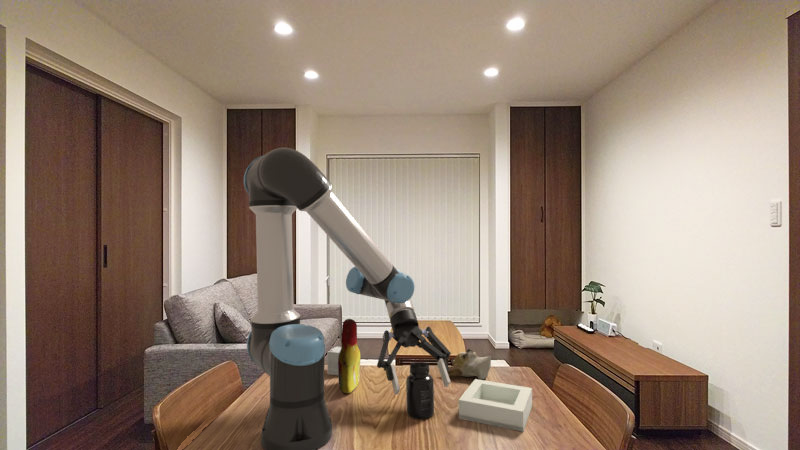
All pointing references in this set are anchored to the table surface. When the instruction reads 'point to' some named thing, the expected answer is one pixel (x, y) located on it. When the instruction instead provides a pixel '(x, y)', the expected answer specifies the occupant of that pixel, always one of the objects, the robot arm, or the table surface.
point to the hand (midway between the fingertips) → (423, 388)
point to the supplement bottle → (420, 391)
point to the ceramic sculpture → (470, 365)
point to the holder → (496, 404)
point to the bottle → (349, 357)
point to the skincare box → (333, 360)
